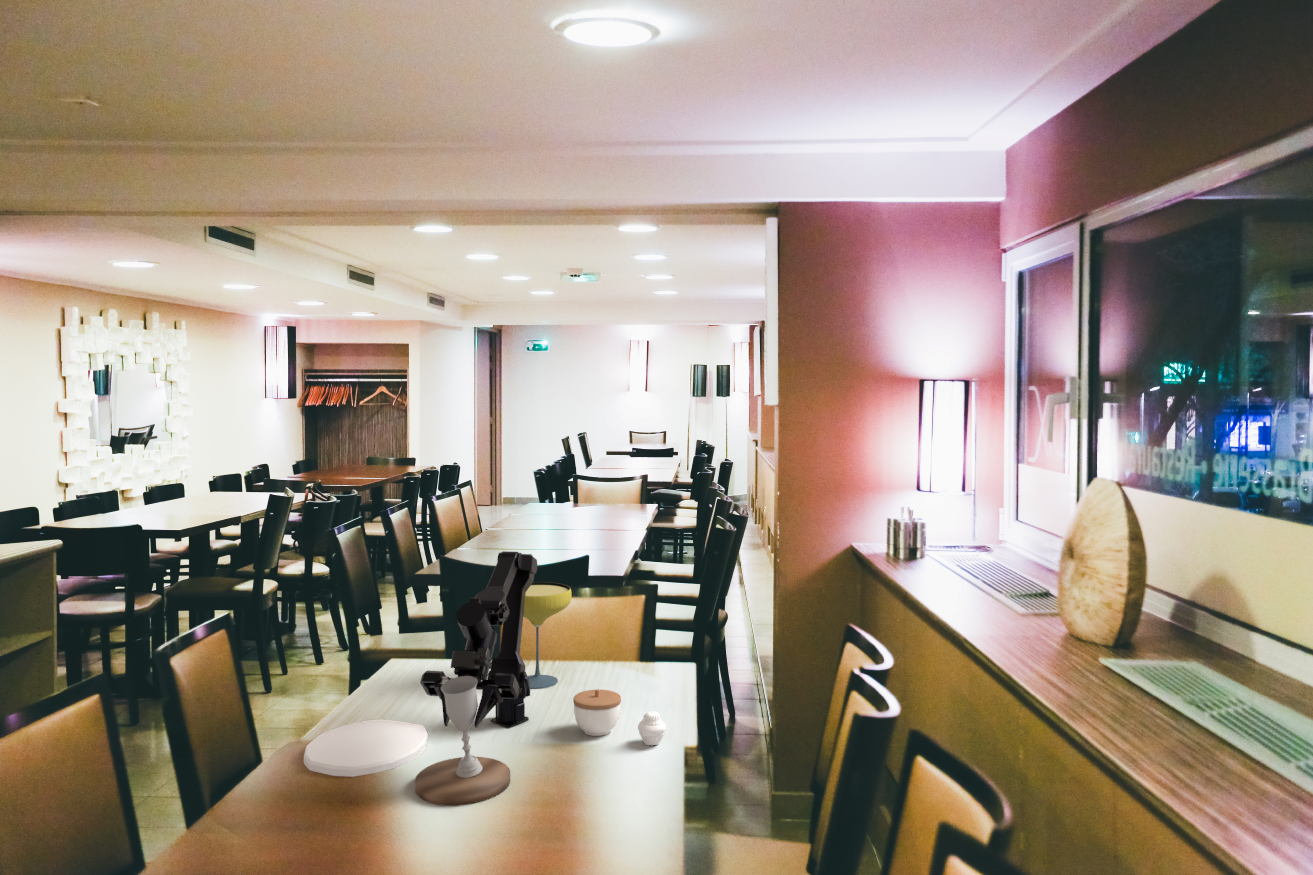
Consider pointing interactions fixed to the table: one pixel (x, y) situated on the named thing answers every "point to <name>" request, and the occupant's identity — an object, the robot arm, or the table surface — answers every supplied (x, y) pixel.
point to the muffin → (651, 728)
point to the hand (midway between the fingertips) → (460, 725)
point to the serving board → (461, 782)
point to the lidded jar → (597, 711)
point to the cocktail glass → (544, 618)
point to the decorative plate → (365, 747)
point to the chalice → (463, 717)
